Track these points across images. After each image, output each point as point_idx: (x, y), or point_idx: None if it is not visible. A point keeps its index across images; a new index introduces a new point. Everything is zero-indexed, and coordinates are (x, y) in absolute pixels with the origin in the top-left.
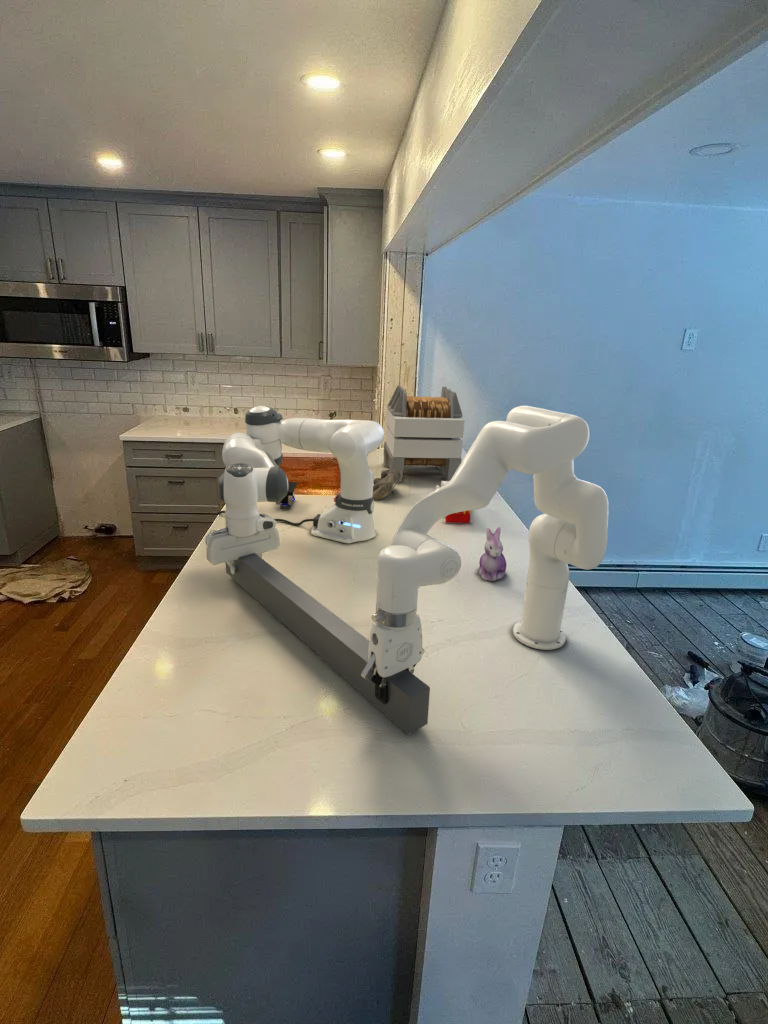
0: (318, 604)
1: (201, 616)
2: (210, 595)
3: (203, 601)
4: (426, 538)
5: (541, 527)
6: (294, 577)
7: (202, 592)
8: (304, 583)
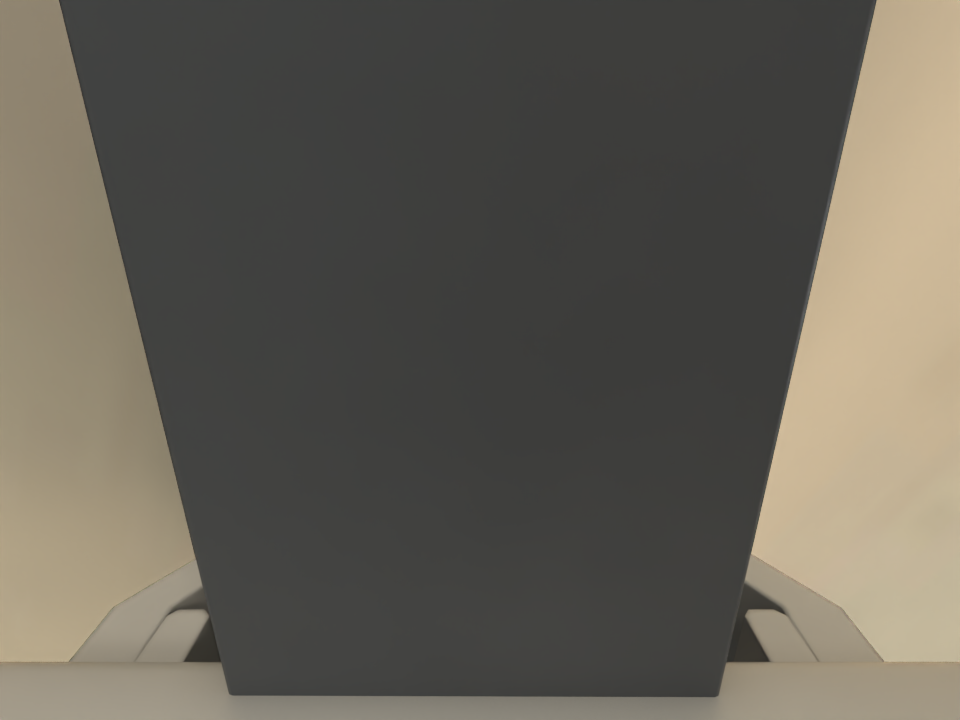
0: None
1: (4, 656)
2: (115, 418)
3: (39, 482)
4: None
5: None
6: (920, 496)
7: (47, 325)
8: (892, 615)
